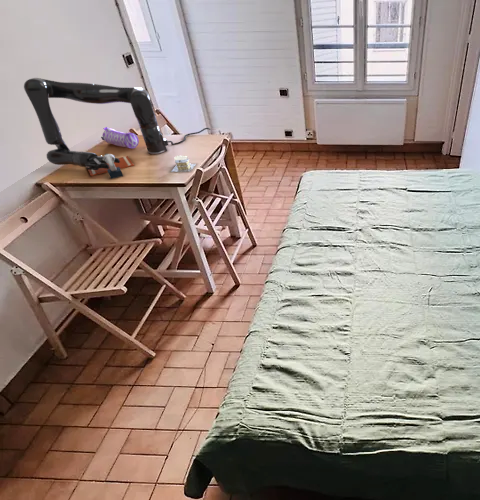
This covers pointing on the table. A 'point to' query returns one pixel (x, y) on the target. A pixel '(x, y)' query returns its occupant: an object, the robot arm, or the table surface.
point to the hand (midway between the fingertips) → (113, 163)
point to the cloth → (123, 164)
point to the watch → (112, 166)
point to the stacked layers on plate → (182, 164)
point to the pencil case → (120, 138)
